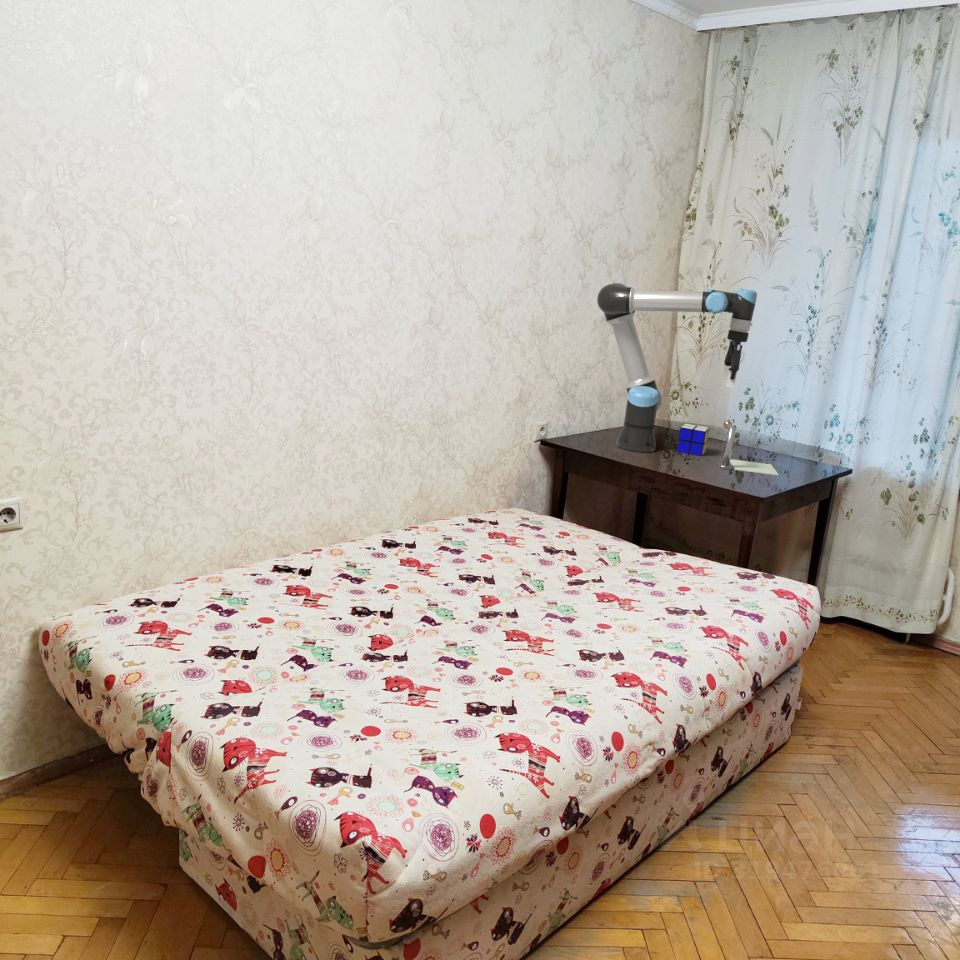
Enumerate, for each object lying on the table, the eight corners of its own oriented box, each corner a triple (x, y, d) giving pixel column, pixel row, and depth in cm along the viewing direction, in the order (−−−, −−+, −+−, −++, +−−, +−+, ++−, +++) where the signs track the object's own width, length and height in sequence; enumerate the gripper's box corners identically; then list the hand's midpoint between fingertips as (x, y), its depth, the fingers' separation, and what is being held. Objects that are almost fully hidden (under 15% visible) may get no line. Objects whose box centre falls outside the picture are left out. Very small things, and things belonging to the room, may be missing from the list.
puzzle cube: (676, 452, 349) (680, 427, 347) (680, 447, 358) (684, 423, 356) (701, 456, 346) (706, 431, 343) (705, 452, 355) (709, 427, 352)
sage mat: (734, 469, 330) (734, 468, 330) (728, 459, 345) (729, 458, 345) (778, 475, 328) (778, 474, 328) (771, 465, 343) (771, 464, 343)
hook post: (718, 468, 329) (725, 427, 325) (713, 457, 346) (720, 418, 342) (734, 470, 329) (742, 429, 324) (728, 459, 345) (735, 420, 341)
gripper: (754, 335, 329) (742, 391, 334) (743, 328, 352) (731, 381, 358) (734, 332, 329) (721, 388, 335) (724, 325, 353) (713, 378, 359)
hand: (727, 384), depth 347 cm, fingers open, 13 cm apart
